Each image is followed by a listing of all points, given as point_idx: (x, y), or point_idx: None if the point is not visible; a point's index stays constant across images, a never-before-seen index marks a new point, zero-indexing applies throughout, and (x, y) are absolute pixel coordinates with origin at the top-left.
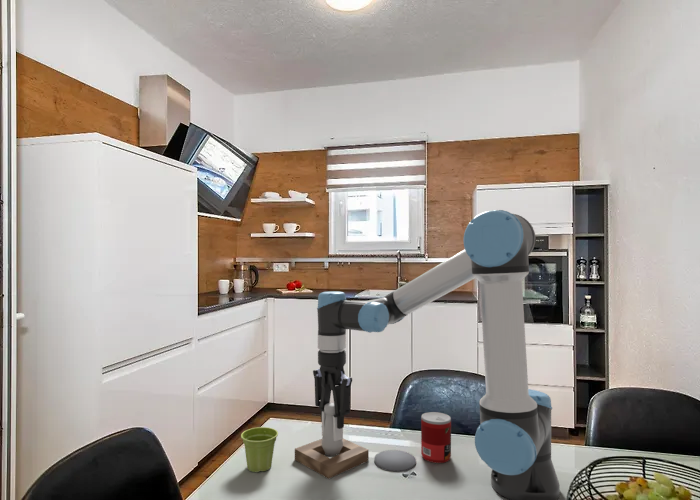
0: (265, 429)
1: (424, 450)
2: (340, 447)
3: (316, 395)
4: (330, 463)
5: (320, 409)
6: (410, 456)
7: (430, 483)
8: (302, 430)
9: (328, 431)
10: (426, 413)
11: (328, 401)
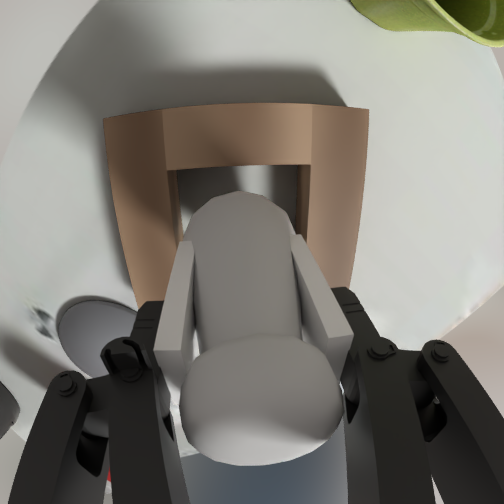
0: (501, 35)
1: None
2: None
3: (481, 417)
4: (122, 142)
5: (380, 341)
6: None
7: (3, 322)
8: (462, 274)
9: (222, 249)
10: (108, 488)
11: (349, 442)
